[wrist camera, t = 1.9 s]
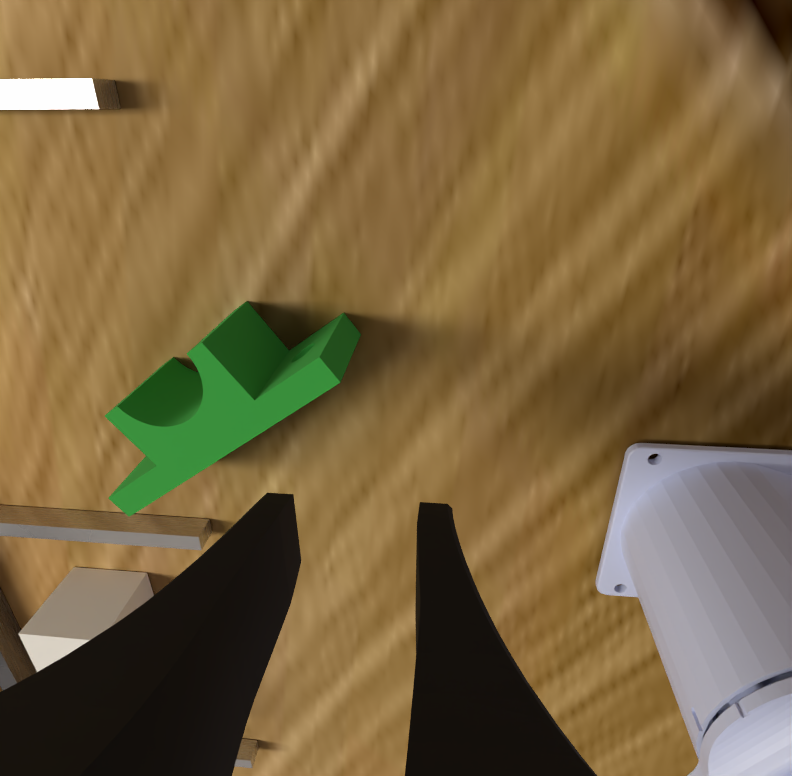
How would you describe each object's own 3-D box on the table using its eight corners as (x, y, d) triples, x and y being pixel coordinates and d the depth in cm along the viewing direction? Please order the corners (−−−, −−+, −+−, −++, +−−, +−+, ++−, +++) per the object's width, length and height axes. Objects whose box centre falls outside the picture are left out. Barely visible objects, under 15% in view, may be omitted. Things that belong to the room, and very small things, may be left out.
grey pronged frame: (114, 80, 17) (85, 77, 16) (258, 747, 34) (250, 773, 33) (-277, 84, 18) (-334, 83, 17) (51, 725, 35) (35, 749, 34)
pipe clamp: (303, 256, 19) (267, 292, 16) (362, 331, 20) (342, 382, 17) (120, 397, 23) (53, 454, 19) (178, 454, 24) (127, 519, 20)
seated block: (147, 572, 27) (101, 641, 24) (186, 703, 33) (154, 776, 29) (73, 567, 28) (18, 633, 24) (124, 697, 33) (84, 768, 29)
